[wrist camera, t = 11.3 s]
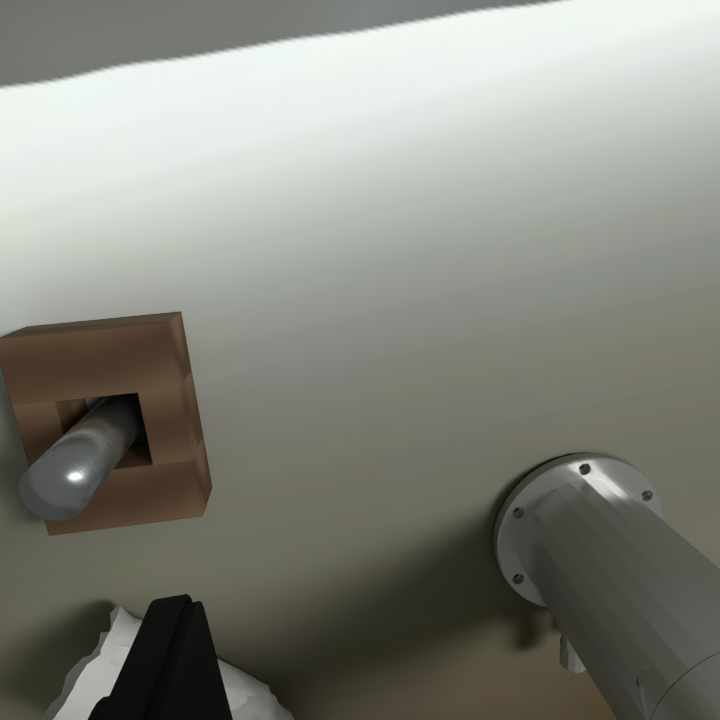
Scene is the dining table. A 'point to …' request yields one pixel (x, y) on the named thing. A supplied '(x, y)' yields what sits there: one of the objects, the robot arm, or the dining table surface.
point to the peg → (82, 459)
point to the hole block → (104, 378)
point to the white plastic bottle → (101, 669)
